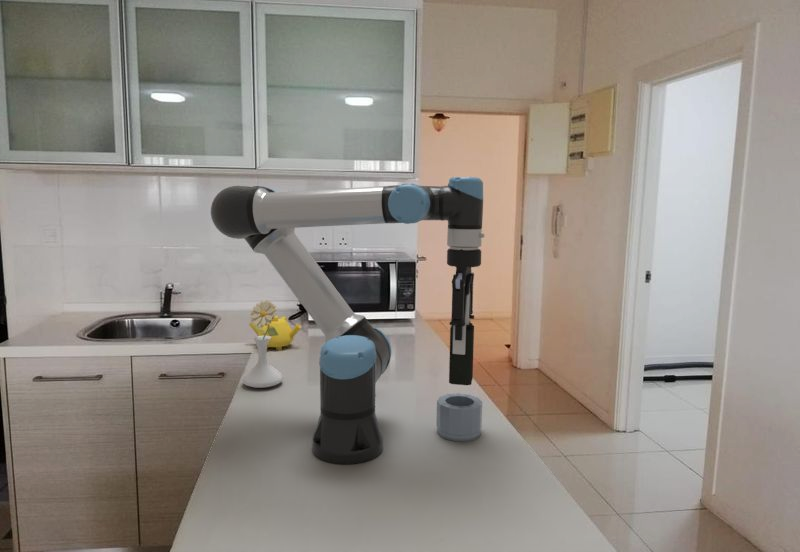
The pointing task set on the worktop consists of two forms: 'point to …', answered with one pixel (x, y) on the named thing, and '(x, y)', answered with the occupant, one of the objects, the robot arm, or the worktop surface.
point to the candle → (462, 363)
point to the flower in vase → (263, 348)
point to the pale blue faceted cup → (459, 417)
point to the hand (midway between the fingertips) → (461, 350)
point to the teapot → (282, 329)
